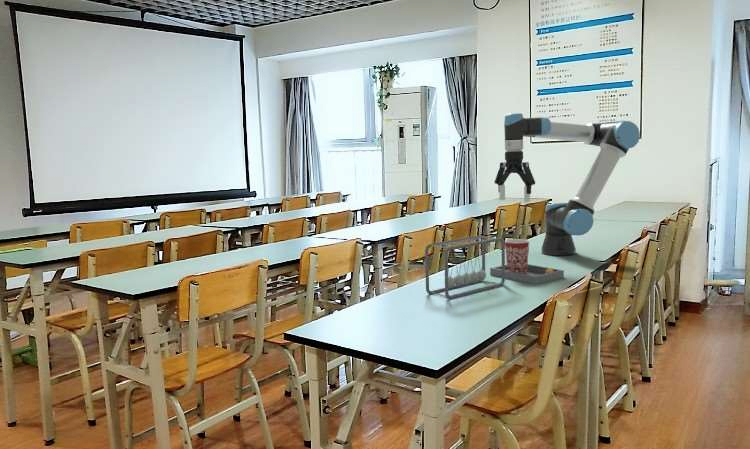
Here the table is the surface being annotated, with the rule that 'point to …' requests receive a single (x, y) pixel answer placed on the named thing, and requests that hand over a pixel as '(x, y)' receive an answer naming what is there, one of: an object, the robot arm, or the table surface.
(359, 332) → the table surface
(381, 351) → the table surface
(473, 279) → the newton's cradle
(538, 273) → the tray
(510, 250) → the mug
